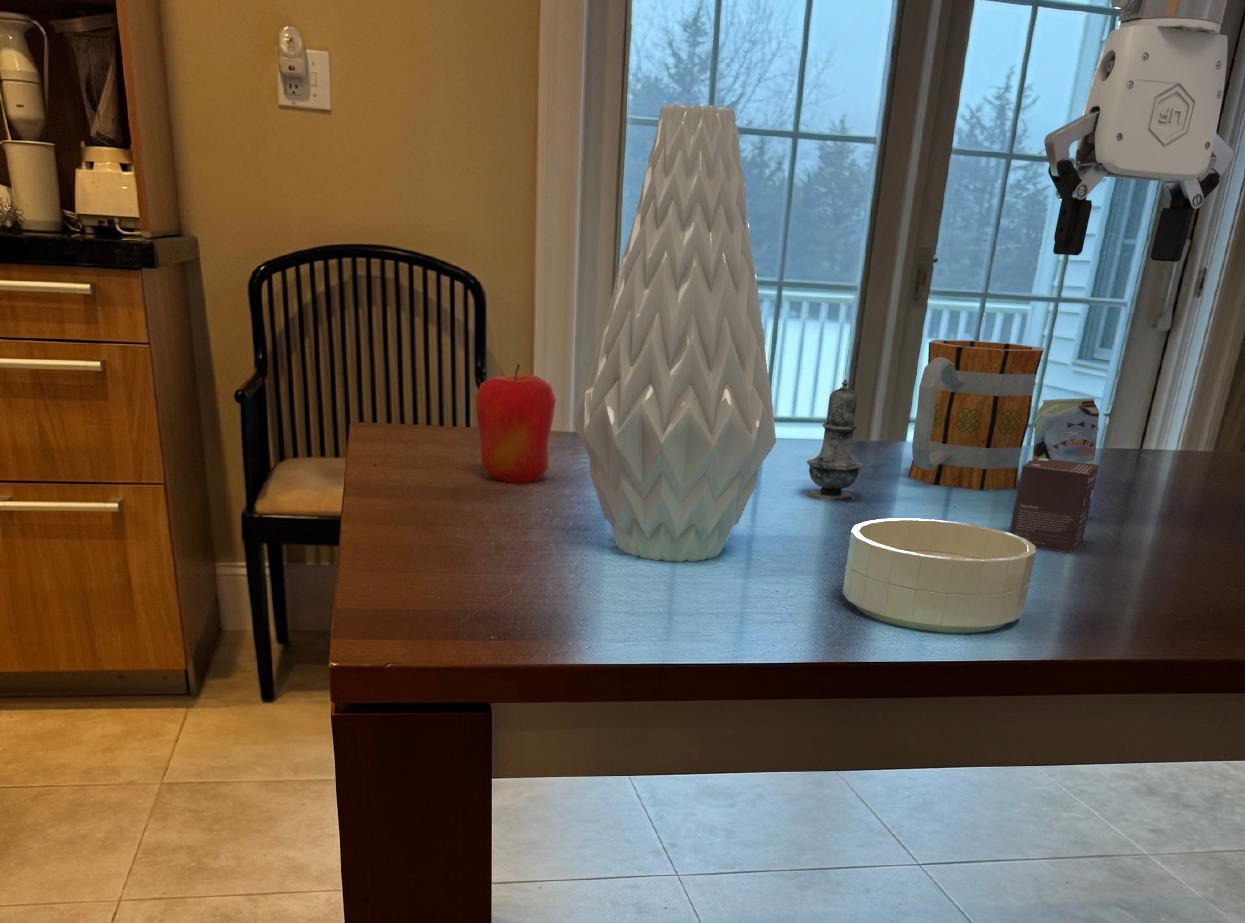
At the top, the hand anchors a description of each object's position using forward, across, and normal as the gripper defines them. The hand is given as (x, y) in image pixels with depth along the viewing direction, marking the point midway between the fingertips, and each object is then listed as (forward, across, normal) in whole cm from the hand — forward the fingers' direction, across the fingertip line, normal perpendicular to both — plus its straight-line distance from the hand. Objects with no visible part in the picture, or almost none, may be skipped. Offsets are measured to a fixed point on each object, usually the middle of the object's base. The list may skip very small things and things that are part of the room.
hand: (1116, 257), depth 99 cm
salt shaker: (+25, -12, +23) cm, 36 cm away
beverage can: (+25, +8, +13) cm, 29 cm away
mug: (+25, +7, +31) cm, 41 cm away
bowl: (+24, -23, -18) cm, 38 cm away
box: (+25, 0, +1) cm, 25 cm away
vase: (+25, -38, +1) cm, 45 cm away
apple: (+25, -45, +33) cm, 61 cm away
